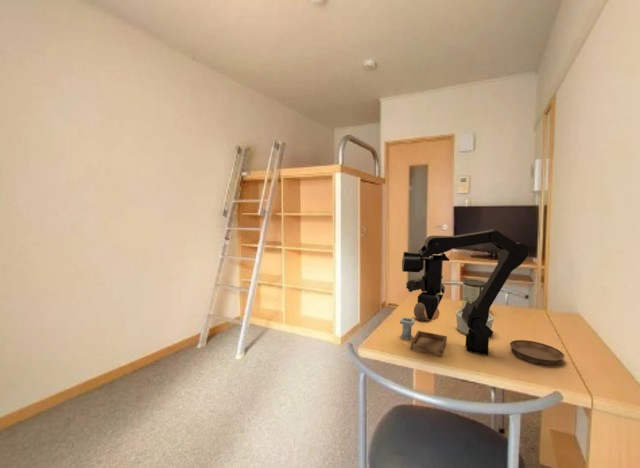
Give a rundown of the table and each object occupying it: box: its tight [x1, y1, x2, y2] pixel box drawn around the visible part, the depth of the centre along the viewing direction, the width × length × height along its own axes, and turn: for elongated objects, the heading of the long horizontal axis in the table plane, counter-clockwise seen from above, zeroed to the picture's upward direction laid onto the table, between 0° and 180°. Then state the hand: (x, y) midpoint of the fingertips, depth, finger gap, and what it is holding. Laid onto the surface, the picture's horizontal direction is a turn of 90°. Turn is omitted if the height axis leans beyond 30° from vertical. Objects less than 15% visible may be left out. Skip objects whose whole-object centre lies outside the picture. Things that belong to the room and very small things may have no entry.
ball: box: [424, 307, 440, 321], centre depth 108 cm, size 5×5×5 cm
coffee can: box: [461, 279, 487, 310], centre depth 146 cm, size 10×10×14 cm
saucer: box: [509, 339, 565, 365], centre depth 104 cm, size 15×15×3 cm
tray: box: [409, 330, 448, 358], centre depth 110 cm, size 10×13×2 cm
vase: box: [413, 302, 429, 322], centre depth 135 cm, size 7×7×9 cm
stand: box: [399, 316, 416, 340], centre depth 116 cm, size 5×5×6 cm
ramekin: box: [455, 308, 494, 335], centre depth 123 cm, size 13×13×7 cm
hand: (430, 317), depth 109 cm, fingers closed on ball, 5 cm apart
